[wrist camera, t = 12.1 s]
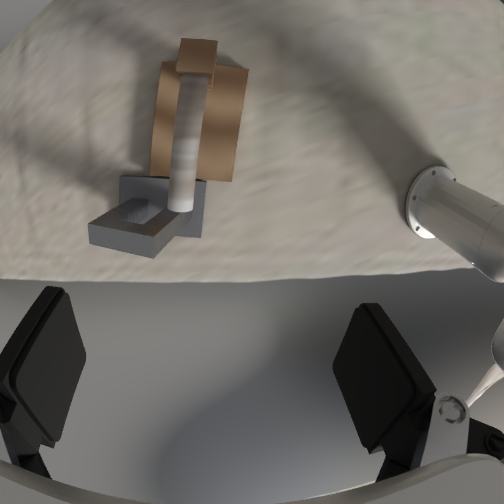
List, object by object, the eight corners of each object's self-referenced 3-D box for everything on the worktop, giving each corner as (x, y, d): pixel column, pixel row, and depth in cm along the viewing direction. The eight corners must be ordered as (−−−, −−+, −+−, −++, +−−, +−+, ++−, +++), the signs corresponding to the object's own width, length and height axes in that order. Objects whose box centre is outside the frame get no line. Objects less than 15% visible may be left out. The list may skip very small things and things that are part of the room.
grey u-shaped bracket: (192, 202, 35) (153, 236, 25) (191, 219, 36) (153, 258, 26) (138, 194, 36) (87, 223, 25) (138, 210, 36) (89, 243, 26)
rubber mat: (206, 181, 35) (206, 182, 35) (200, 235, 39) (200, 237, 38) (121, 175, 33) (119, 176, 33) (121, 230, 36) (120, 231, 36)
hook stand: (163, 63, 28) (129, 28, 14) (247, 70, 30) (276, 39, 15) (151, 173, 34) (112, 218, 20) (230, 179, 36) (245, 228, 22)
